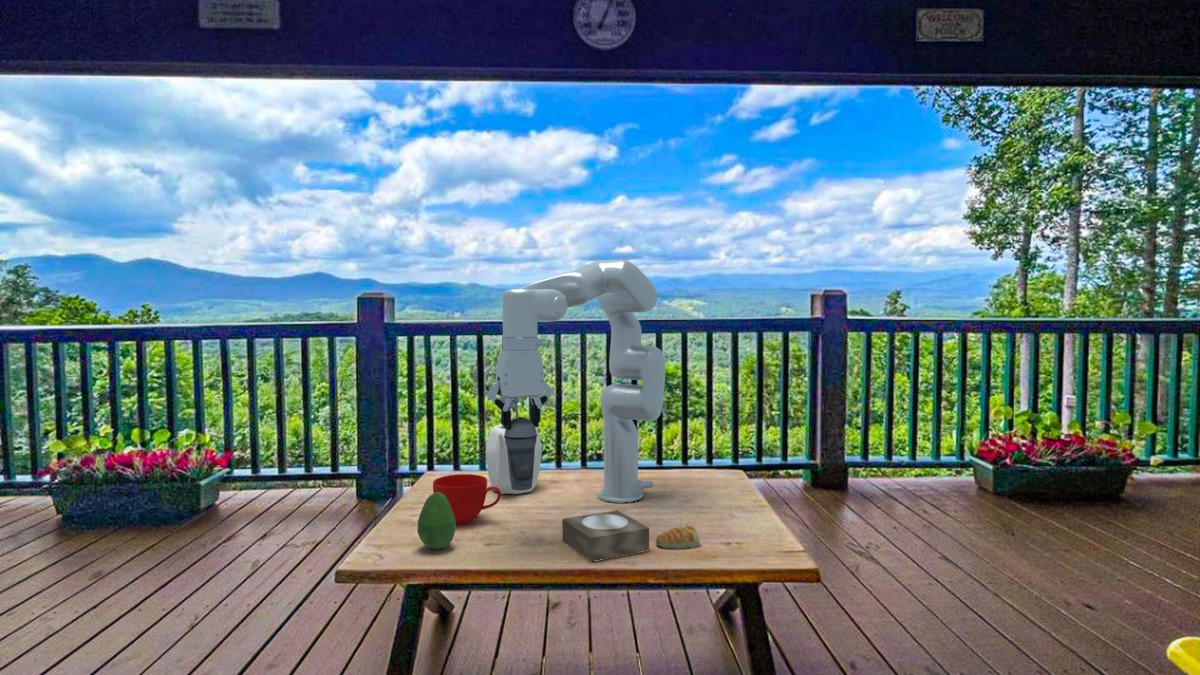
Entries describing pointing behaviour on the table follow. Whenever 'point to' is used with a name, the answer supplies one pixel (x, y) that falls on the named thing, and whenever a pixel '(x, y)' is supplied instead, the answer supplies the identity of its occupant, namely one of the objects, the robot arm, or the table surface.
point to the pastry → (679, 538)
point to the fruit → (436, 522)
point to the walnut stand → (605, 535)
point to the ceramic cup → (465, 495)
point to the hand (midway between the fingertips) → (521, 426)
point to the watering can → (506, 461)
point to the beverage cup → (521, 451)
